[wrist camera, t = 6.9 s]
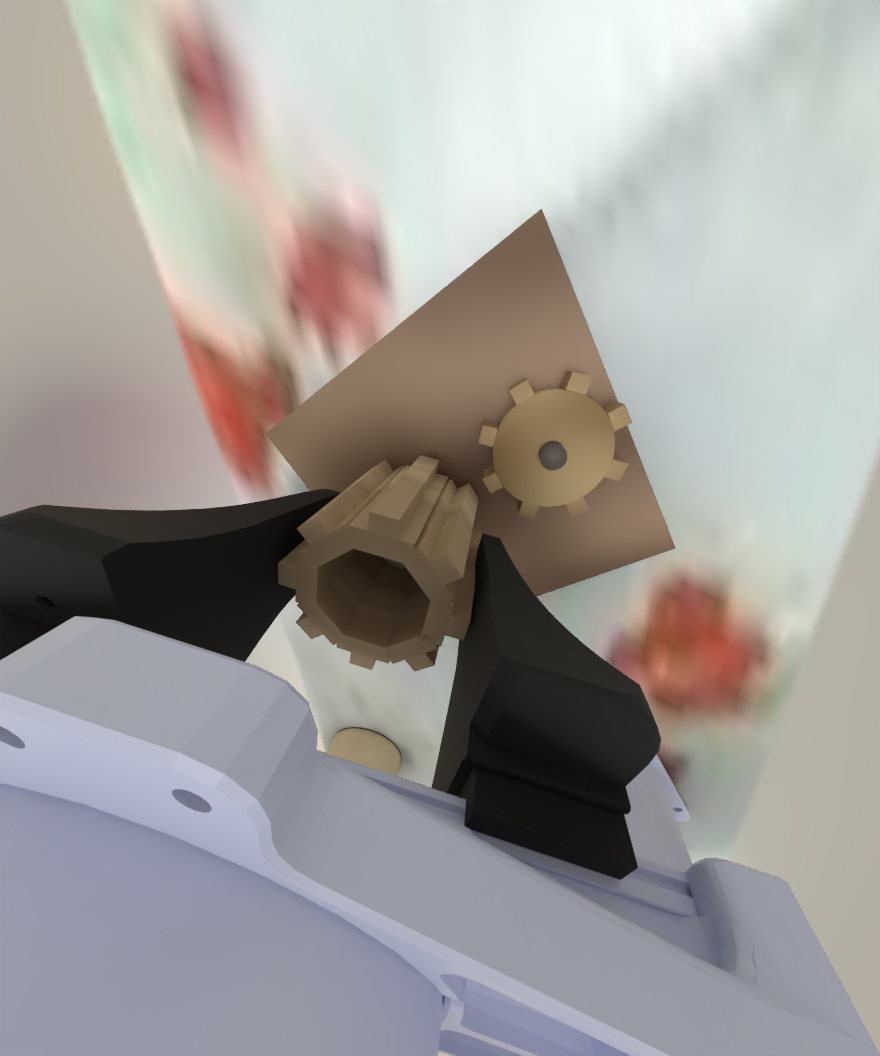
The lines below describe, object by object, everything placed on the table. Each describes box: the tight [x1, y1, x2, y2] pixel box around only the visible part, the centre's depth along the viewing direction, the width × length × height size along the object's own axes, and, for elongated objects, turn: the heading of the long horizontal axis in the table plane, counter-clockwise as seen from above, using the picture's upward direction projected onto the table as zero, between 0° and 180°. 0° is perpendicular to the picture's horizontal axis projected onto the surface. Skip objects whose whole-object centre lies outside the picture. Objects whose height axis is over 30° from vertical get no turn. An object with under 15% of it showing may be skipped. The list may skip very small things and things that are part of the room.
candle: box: [327, 728, 401, 777], centre depth 21 cm, size 6×6×10 cm
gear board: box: [266, 209, 675, 596], centre depth 12 cm, size 12×12×5 cm
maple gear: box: [278, 455, 483, 671], centre depth 11 cm, size 5×5×5 cm
